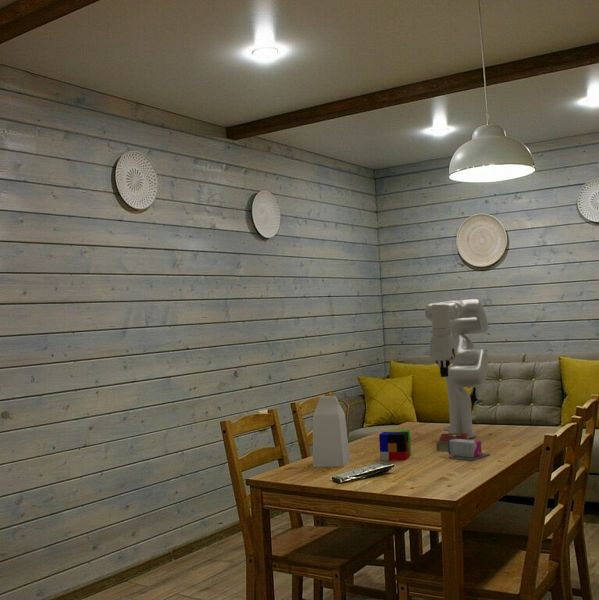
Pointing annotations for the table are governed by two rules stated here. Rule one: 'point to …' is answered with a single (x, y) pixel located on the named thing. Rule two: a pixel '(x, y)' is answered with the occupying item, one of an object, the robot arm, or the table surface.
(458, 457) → the mat
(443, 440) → the hardcover book
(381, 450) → the puzzle toy
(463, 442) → the supplement box
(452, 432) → the robot arm
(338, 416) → the milk
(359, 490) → the table surface
